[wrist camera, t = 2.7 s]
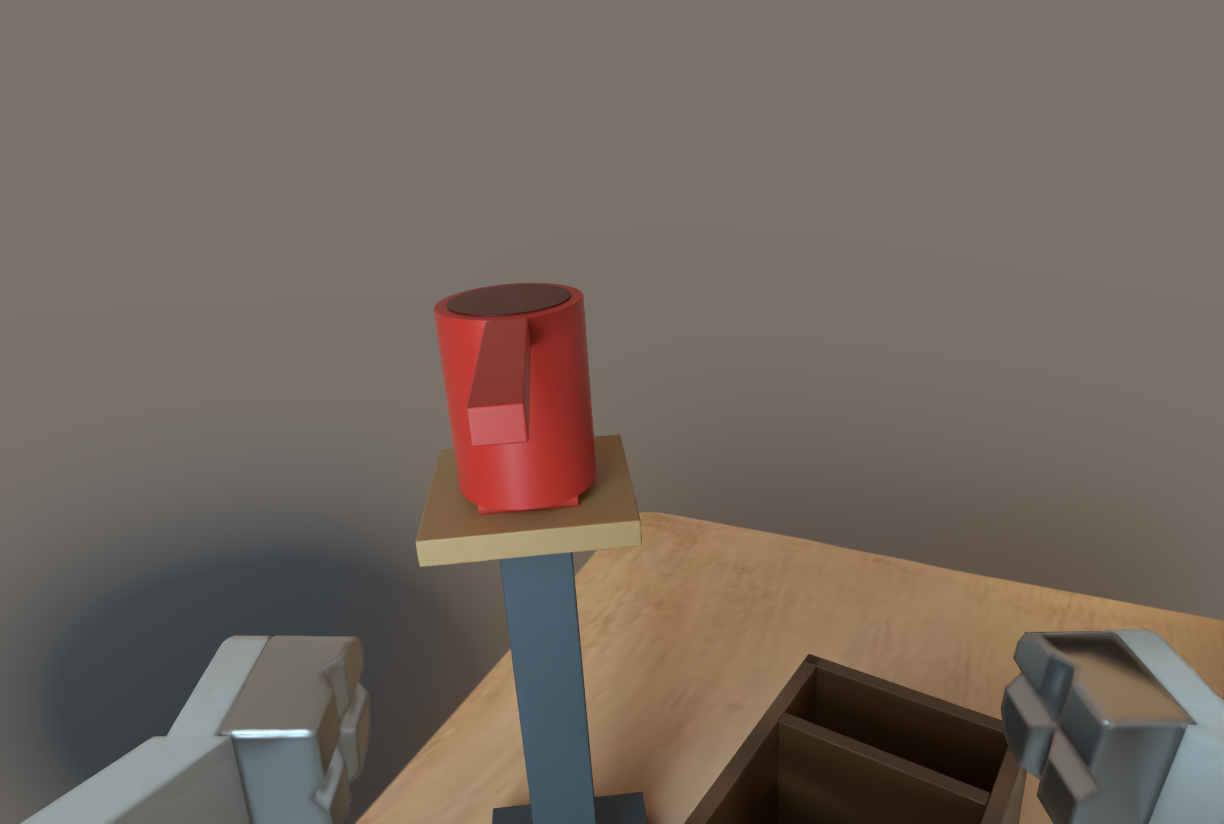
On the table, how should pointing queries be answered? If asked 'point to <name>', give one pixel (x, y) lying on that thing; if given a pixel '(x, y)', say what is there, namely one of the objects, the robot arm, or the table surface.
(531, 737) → the stand
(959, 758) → the caddy
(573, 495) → the cup
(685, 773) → the table surface
